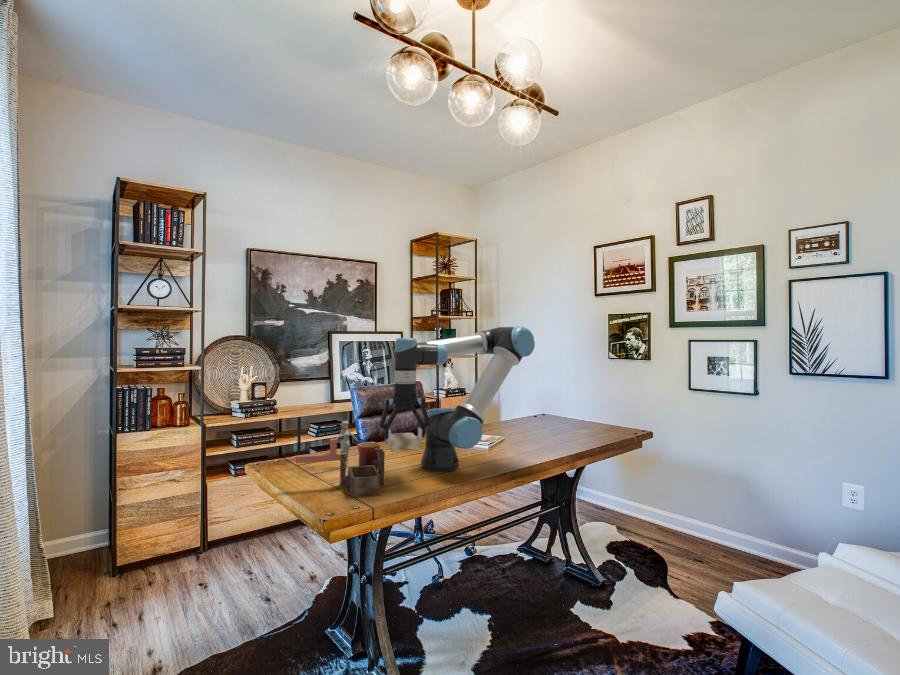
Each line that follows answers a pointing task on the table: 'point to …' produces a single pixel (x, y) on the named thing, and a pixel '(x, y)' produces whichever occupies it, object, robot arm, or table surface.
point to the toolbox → (362, 477)
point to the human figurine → (345, 439)
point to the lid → (404, 442)
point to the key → (322, 455)
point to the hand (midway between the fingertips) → (404, 447)
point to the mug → (368, 453)
